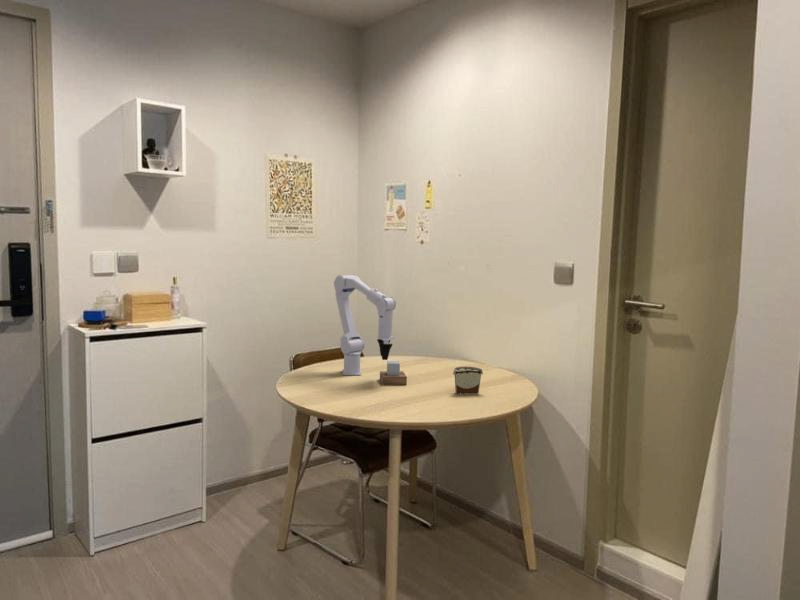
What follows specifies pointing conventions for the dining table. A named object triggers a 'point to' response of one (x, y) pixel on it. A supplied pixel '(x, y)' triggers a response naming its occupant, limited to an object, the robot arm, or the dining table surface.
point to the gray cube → (393, 368)
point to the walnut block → (393, 378)
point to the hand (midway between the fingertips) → (384, 357)
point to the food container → (467, 379)
